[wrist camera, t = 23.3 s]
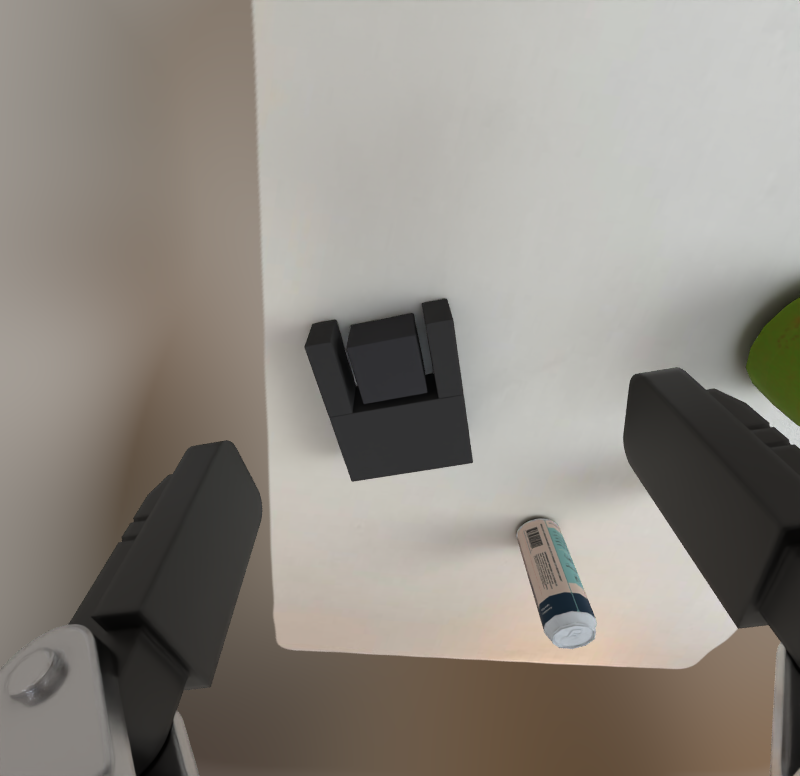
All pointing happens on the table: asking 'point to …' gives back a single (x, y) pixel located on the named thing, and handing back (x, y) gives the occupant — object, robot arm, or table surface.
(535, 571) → the beer can
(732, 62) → the table surface
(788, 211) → the table surface
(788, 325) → the apple
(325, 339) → the black flat forked piece
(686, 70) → the table surface
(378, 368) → the black block
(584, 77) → the table surface
